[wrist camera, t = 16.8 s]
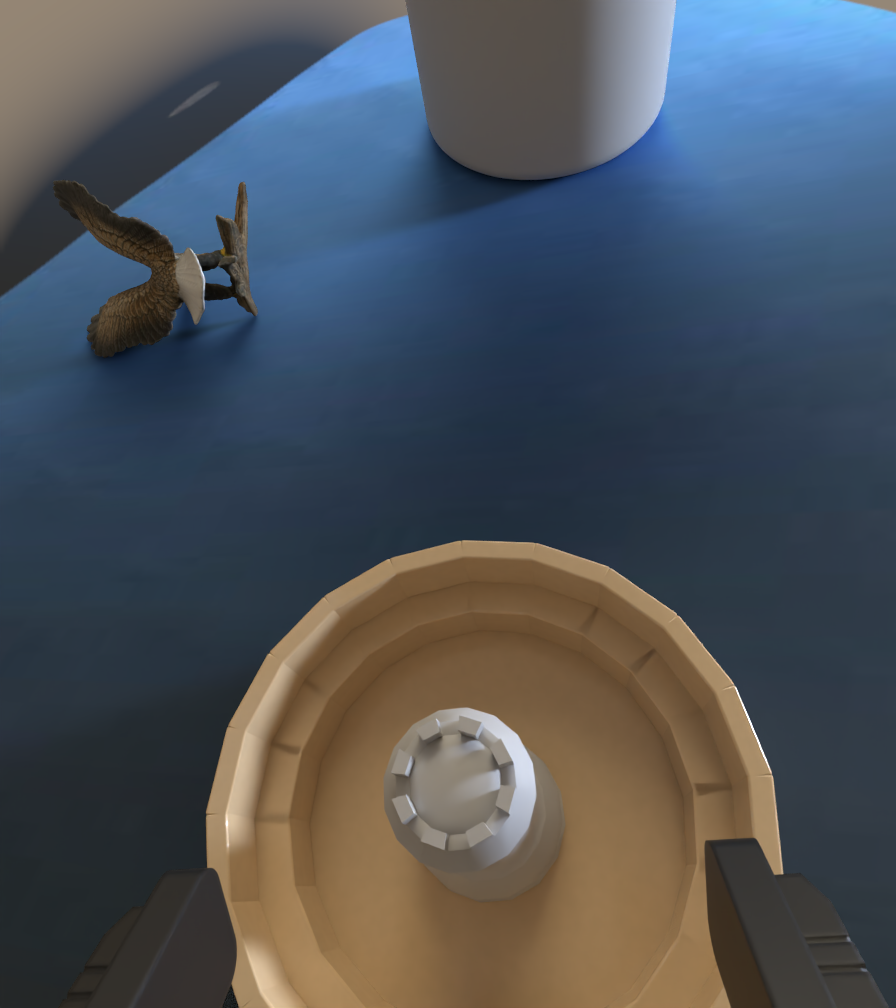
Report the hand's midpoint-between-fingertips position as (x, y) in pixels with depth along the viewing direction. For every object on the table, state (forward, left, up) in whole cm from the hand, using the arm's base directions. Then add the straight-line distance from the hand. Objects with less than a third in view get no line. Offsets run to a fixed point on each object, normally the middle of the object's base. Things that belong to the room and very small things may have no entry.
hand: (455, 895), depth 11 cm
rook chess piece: (0, -2, -10) cm, 10 cm away
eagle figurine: (+17, -23, -11) cm, 31 cm away
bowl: (0, -2, -10) cm, 11 cm away
